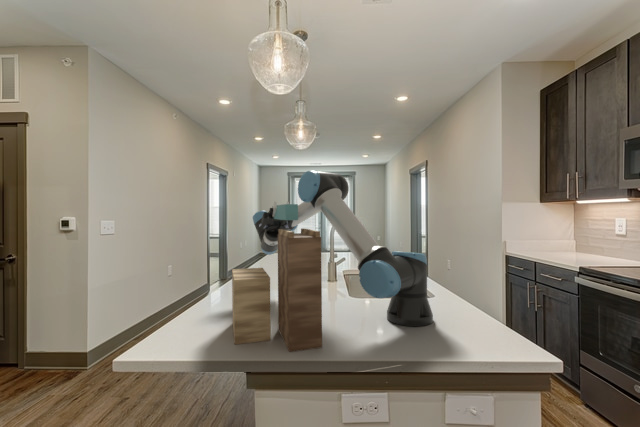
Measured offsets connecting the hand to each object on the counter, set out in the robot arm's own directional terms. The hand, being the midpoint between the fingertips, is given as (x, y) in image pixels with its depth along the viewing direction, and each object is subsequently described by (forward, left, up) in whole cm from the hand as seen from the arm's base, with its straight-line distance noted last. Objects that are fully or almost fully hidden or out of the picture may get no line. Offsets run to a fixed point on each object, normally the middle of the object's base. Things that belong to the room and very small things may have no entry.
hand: (282, 204), depth 117 cm
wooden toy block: (+3, +19, -39) cm, 44 cm away
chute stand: (-14, +19, -39) cm, 46 cm away
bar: (-2, +3, -5) cm, 6 cm away
